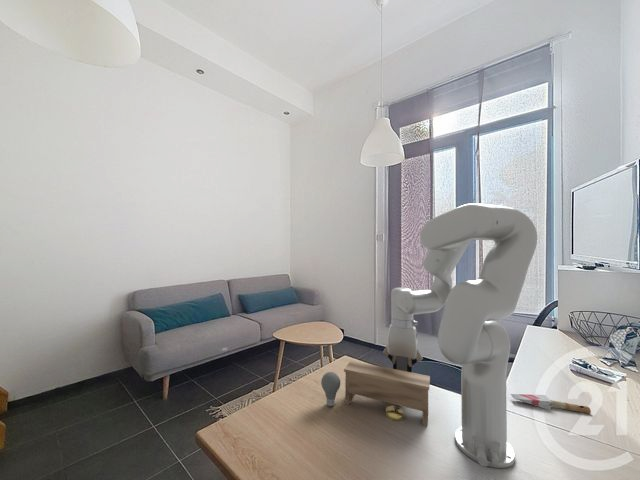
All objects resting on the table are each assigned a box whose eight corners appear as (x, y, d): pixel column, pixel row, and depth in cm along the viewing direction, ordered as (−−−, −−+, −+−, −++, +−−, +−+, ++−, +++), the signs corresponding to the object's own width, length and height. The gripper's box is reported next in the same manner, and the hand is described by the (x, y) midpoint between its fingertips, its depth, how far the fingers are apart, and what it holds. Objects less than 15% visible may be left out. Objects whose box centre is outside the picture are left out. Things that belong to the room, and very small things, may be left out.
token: (402, 423, 74) (402, 418, 74) (384, 419, 76) (384, 413, 76) (404, 413, 78) (404, 408, 79) (387, 409, 81) (387, 404, 81)
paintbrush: (509, 388, 87) (585, 402, 81) (509, 396, 87) (584, 411, 81) (514, 394, 83) (593, 409, 77) (514, 403, 83) (593, 418, 77)
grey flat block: (404, 403, 83) (403, 358, 83) (392, 400, 84) (392, 356, 85) (408, 385, 93) (408, 346, 94) (398, 383, 95) (397, 344, 95)
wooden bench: (429, 426, 72) (429, 387, 73) (343, 403, 83) (344, 369, 83) (430, 412, 79) (430, 376, 79) (350, 392, 89) (350, 360, 89)
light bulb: (344, 405, 82) (344, 372, 82) (331, 413, 78) (331, 379, 78) (329, 397, 86) (329, 366, 86) (317, 405, 82) (317, 372, 82)
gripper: (427, 323, 93) (428, 375, 92) (381, 317, 100) (381, 366, 99) (426, 329, 86) (427, 385, 86) (376, 322, 93) (376, 375, 93)
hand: (402, 374), depth 93 cm, fingers closed on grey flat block, 3 cm apart
